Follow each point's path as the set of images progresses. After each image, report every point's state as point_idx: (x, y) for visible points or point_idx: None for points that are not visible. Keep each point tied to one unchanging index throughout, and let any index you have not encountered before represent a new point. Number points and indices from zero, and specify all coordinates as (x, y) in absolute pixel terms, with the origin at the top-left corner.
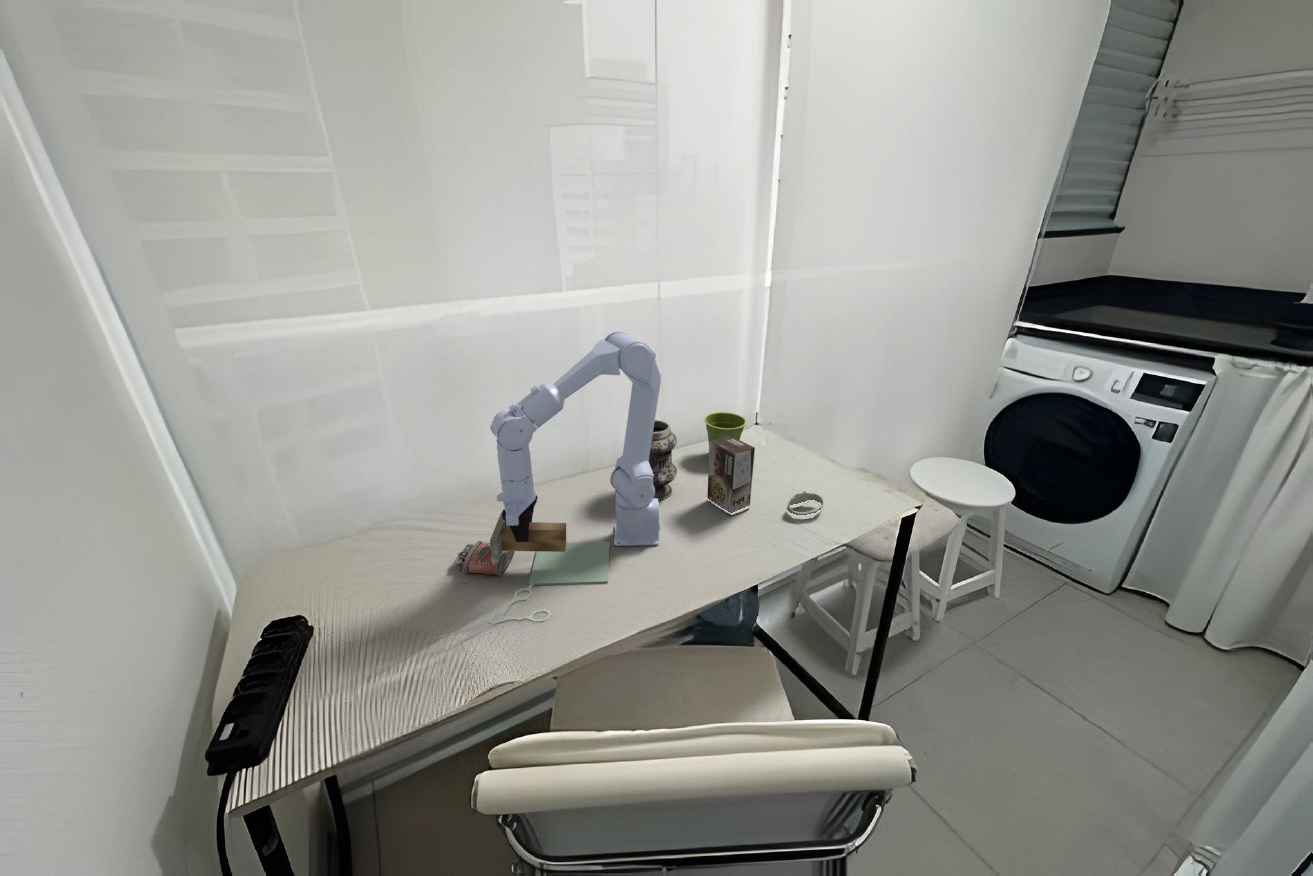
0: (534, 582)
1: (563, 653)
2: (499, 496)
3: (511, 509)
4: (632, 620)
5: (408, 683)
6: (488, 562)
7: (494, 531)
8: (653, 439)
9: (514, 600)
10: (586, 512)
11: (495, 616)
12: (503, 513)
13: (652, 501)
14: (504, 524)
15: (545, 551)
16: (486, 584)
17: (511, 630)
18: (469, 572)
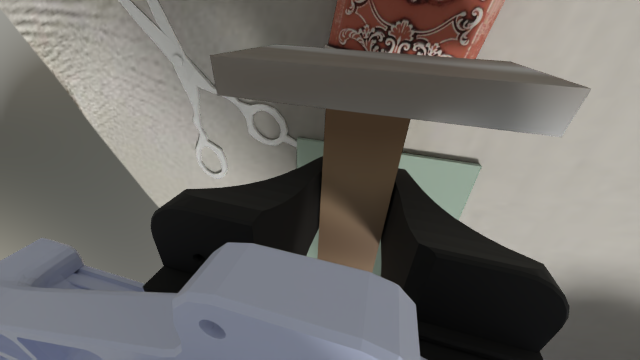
0: (299, 152)
1: (149, 188)
2: (241, 348)
3: (43, 353)
4: None
5: None
6: (354, 10)
7: (297, 70)
8: None
9: (243, 107)
10: (609, 296)
11: (192, 67)
12: (184, 220)
13: None
14: (374, 125)
15: (427, 181)
16: (310, 13)
17: (171, 107)
18: None
